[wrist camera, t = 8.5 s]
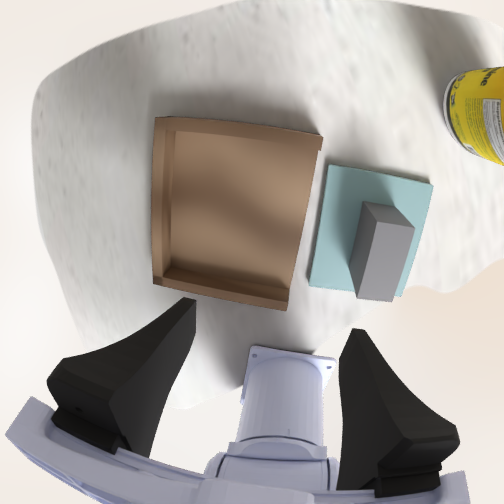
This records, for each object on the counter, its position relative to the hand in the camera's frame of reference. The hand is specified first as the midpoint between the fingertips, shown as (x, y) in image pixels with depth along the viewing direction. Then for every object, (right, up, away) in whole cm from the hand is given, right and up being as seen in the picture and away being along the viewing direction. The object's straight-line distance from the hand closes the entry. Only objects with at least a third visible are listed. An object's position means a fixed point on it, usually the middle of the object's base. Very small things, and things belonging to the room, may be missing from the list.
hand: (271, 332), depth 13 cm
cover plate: (+8, +5, +7) cm, 12 cm away
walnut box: (-2, +7, +8) cm, 10 cm away
